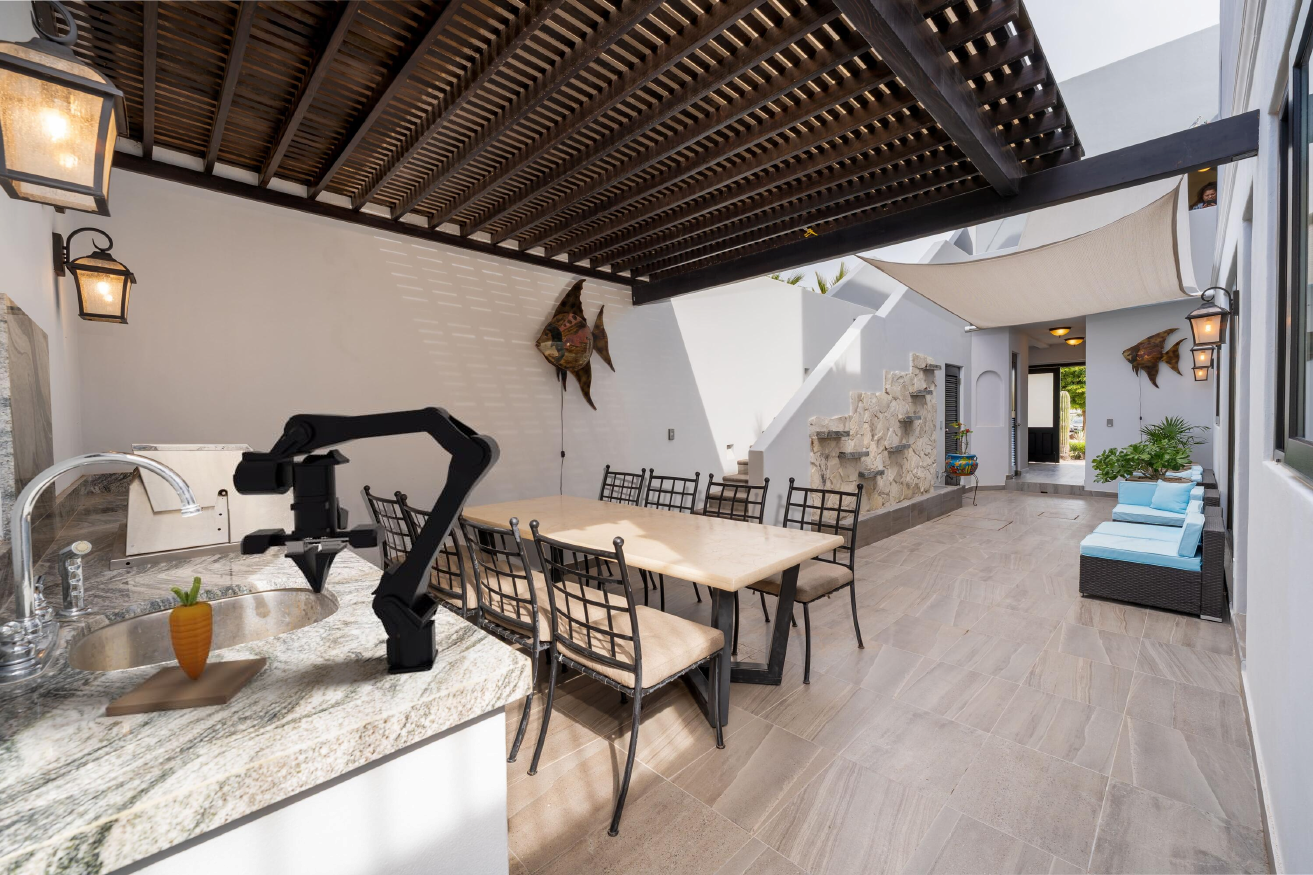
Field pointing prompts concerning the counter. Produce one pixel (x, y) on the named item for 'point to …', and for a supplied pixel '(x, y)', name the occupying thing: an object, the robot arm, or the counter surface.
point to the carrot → (191, 630)
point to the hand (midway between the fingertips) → (318, 592)
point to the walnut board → (188, 687)
